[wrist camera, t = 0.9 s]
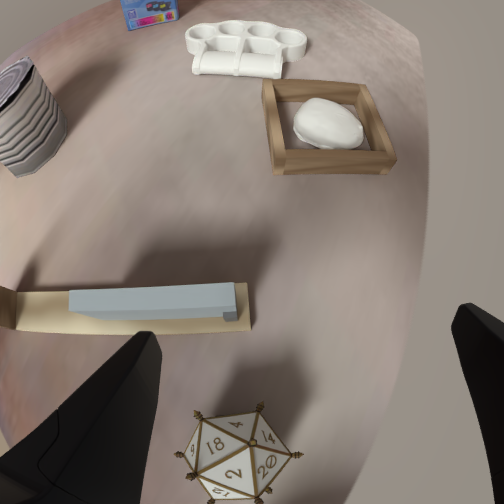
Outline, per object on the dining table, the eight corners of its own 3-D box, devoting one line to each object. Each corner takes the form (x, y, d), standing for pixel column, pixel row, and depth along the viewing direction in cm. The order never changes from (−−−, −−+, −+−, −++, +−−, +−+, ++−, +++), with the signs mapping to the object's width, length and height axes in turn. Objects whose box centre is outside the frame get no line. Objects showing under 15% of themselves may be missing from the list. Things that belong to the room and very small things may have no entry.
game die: (237, 412, 26) (271, 362, 20) (288, 479, 21) (345, 453, 16) (154, 448, 21) (154, 411, 15) (205, 526, 16) (232, 531, 10)
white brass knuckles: (171, 80, 35) (197, 31, 40) (304, 89, 35) (304, 38, 40) (167, 62, 32) (195, 16, 37) (307, 70, 32) (306, 23, 36)
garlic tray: (386, 174, 31) (397, 159, 28) (273, 175, 30) (276, 158, 27) (358, 100, 34) (365, 84, 31) (261, 96, 34) (262, 78, 31)
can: (56, 169, 30) (6, 108, 19) (-2, 185, 29) (-51, 139, 18) (77, 105, 34) (46, 45, 22) (21, 124, 33) (-14, 75, 22)
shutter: (237, 321, 24) (235, 312, 19) (103, 325, 24) (68, 316, 18) (235, 292, 25) (233, 275, 19) (103, 298, 24) (69, 284, 19)
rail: (250, 330, 25) (251, 327, 21) (12, 329, 24) (-11, 324, 20) (246, 284, 26) (247, 273, 23) (14, 294, 25) (-9, 285, 21)
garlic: (366, 134, 33) (376, 114, 29) (346, 170, 31) (357, 150, 27) (308, 104, 34) (314, 83, 30) (283, 136, 32) (287, 114, 28)
